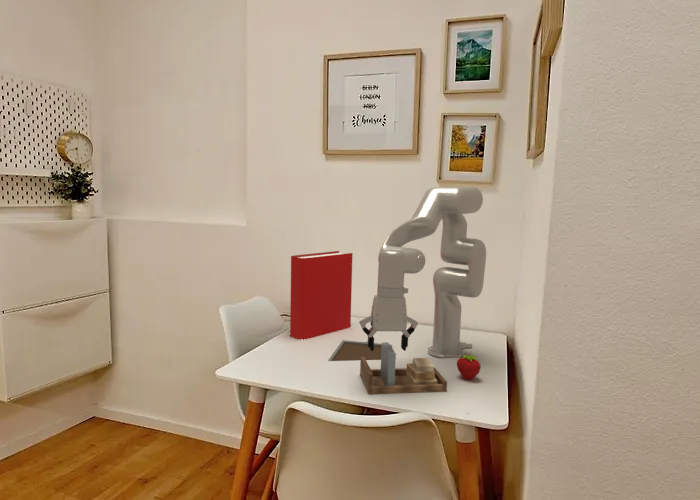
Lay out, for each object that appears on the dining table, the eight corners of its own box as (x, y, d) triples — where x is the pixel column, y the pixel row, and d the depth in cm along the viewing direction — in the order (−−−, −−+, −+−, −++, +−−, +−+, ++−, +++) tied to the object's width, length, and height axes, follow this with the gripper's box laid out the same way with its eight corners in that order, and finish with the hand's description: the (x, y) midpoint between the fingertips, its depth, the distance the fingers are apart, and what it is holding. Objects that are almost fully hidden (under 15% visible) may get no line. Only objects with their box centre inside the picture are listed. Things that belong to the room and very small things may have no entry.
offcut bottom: (427, 376, 150) (428, 369, 150) (437, 388, 141) (437, 380, 141) (406, 376, 149) (406, 370, 149) (414, 388, 140) (414, 381, 140)
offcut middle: (424, 369, 150) (425, 362, 149) (434, 379, 142) (435, 372, 142) (406, 370, 148) (406, 363, 148) (415, 380, 141) (415, 373, 140)
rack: (431, 376, 153) (432, 355, 152) (446, 395, 139) (447, 372, 138) (359, 378, 149) (360, 357, 149) (368, 398, 136) (368, 374, 135)
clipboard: (324, 364, 158) (343, 337, 187) (324, 369, 158) (343, 342, 187) (382, 370, 154) (393, 342, 183) (382, 375, 154) (392, 346, 183)
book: (337, 323, 211) (339, 250, 207) (350, 327, 205) (352, 252, 201) (288, 335, 191) (289, 256, 187) (301, 340, 186) (302, 258, 182)
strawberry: (460, 376, 154) (462, 345, 153) (483, 382, 149) (485, 351, 148) (452, 381, 149) (453, 350, 148) (474, 388, 145) (476, 356, 143)
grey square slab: (386, 376, 149) (388, 342, 147) (394, 390, 139) (395, 353, 137) (380, 377, 148) (381, 342, 147) (387, 390, 138) (388, 353, 137)
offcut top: (428, 364, 148) (429, 358, 148) (433, 373, 141) (433, 366, 141) (412, 364, 148) (412, 358, 147) (416, 373, 141) (416, 366, 140)
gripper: (415, 290, 145) (412, 345, 147) (358, 289, 142) (356, 345, 144) (422, 295, 137) (419, 353, 139) (363, 294, 135) (360, 353, 137)
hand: (387, 349), depth 142 cm, fingers open, 9 cm apart
